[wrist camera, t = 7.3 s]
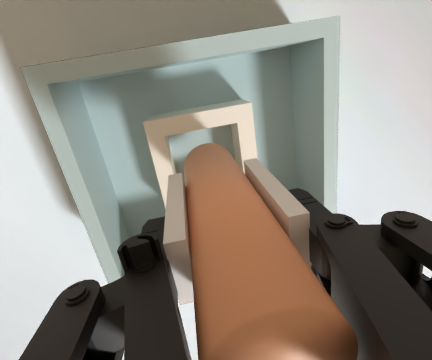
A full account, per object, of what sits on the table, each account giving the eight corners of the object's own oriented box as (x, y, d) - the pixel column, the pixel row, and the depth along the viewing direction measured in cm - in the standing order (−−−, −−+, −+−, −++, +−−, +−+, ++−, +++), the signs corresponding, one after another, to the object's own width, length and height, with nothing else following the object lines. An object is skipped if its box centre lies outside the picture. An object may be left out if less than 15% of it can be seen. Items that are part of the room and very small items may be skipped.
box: (126, 246, 26) (112, 293, 20) (64, 70, 20) (20, 67, 14) (303, 208, 27) (335, 242, 21) (296, 31, 21) (340, 15, 15)
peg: (178, 148, 18) (184, 332, 5) (230, 138, 18) (362, 290, 5) (189, 195, 19) (214, 435, 6) (237, 185, 20) (354, 398, 7)
